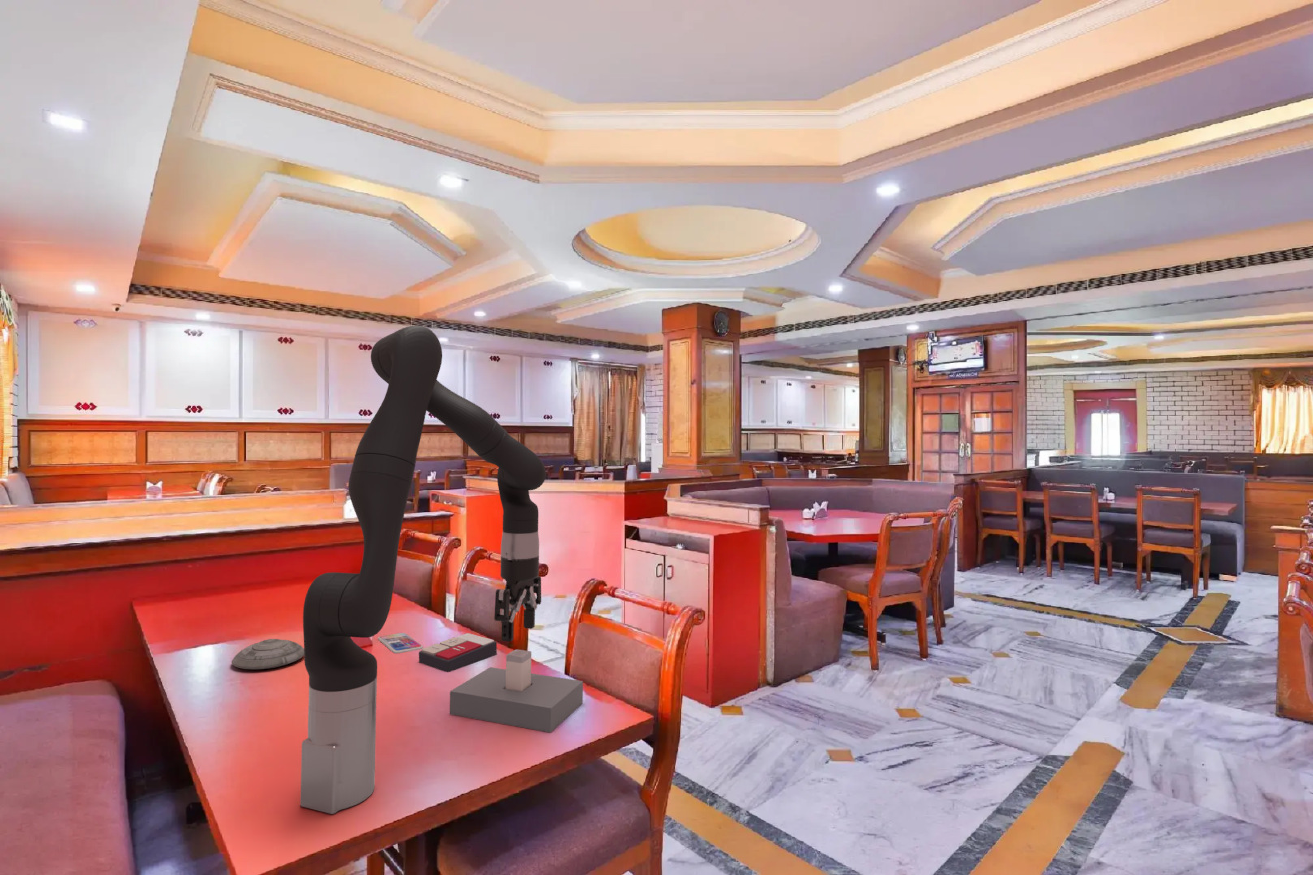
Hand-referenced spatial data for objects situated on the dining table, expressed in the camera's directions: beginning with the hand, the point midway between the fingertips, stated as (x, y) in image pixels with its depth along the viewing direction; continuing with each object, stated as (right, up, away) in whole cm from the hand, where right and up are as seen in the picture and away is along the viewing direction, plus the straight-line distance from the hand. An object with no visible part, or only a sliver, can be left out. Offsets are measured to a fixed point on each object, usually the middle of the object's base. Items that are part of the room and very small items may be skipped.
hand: (518, 634), depth 127 cm
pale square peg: (0, -14, 0) cm, 14 cm away
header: (0, -15, 0) cm, 15 cm away
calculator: (-21, -15, +28) cm, 38 cm away
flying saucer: (-64, -14, +23) cm, 69 cm away
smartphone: (-39, -15, +38) cm, 56 cm away
